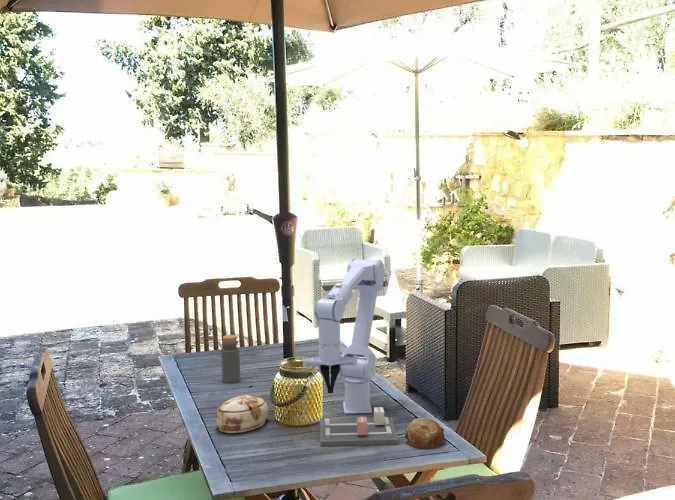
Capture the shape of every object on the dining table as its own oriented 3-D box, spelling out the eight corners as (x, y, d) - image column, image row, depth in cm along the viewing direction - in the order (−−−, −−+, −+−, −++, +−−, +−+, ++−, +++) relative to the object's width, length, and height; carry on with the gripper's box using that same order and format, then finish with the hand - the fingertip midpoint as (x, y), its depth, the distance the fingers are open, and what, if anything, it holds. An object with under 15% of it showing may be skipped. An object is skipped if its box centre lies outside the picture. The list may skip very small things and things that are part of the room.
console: (320, 423, 213) (319, 416, 213) (392, 421, 214) (391, 414, 213) (320, 446, 197) (320, 438, 197) (398, 444, 198) (398, 435, 197)
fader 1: (356, 429, 204) (356, 416, 203) (366, 429, 204) (366, 416, 203) (357, 435, 200) (357, 421, 199) (367, 435, 200) (367, 421, 199)
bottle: (238, 383, 251) (237, 338, 249) (221, 383, 251) (219, 338, 249) (241, 377, 257) (239, 334, 255) (224, 378, 257) (222, 334, 255)
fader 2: (373, 419, 211) (373, 407, 210) (383, 419, 211) (382, 406, 210) (375, 425, 207) (374, 412, 206) (384, 424, 207) (384, 411, 206)
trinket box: (211, 434, 207) (210, 406, 206) (226, 415, 222) (225, 388, 221) (260, 436, 205) (259, 407, 204) (271, 416, 220) (271, 389, 219)
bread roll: (405, 449, 204) (393, 425, 201) (436, 428, 206) (424, 404, 204) (422, 463, 194) (410, 438, 192) (454, 441, 197) (442, 416, 195)
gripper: (302, 347, 202) (303, 397, 204) (357, 346, 202) (358, 396, 204) (302, 340, 209) (303, 389, 211) (355, 339, 209) (356, 387, 211)
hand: (330, 391), depth 208 cm, fingers closed
